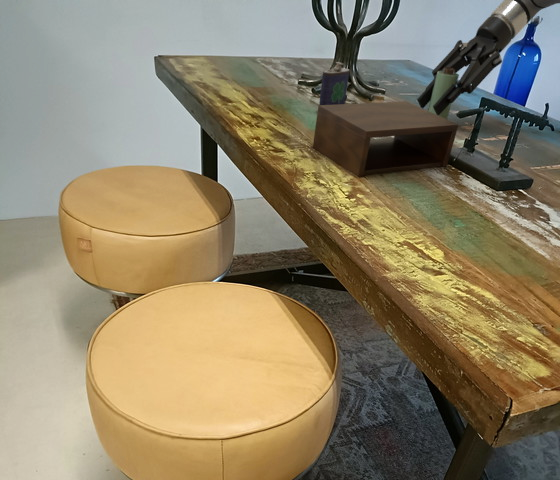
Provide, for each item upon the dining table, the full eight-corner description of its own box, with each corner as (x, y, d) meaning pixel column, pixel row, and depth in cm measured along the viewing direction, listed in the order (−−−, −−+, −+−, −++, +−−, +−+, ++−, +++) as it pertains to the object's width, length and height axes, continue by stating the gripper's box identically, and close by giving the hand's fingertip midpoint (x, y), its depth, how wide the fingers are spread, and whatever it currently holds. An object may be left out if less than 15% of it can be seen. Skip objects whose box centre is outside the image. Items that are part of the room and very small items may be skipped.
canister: (449, 125, 137) (465, 71, 130) (434, 126, 135) (448, 71, 127) (436, 119, 140) (450, 65, 133) (420, 120, 138) (434, 66, 131)
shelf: (446, 166, 113) (458, 124, 108) (358, 176, 104) (366, 131, 99) (397, 140, 124) (406, 101, 119) (312, 147, 114) (318, 105, 109)
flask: (337, 107, 140) (345, 58, 133) (347, 110, 139) (355, 61, 132) (315, 112, 134) (321, 62, 127) (324, 116, 133) (332, 65, 126)
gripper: (534, 50, 127) (458, 130, 131) (477, 33, 139) (409, 107, 142) (527, 22, 122) (448, 106, 125) (468, 7, 133) (397, 85, 137)
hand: (427, 107), depth 134 cm, fingers closed on canister, 5 cm apart
